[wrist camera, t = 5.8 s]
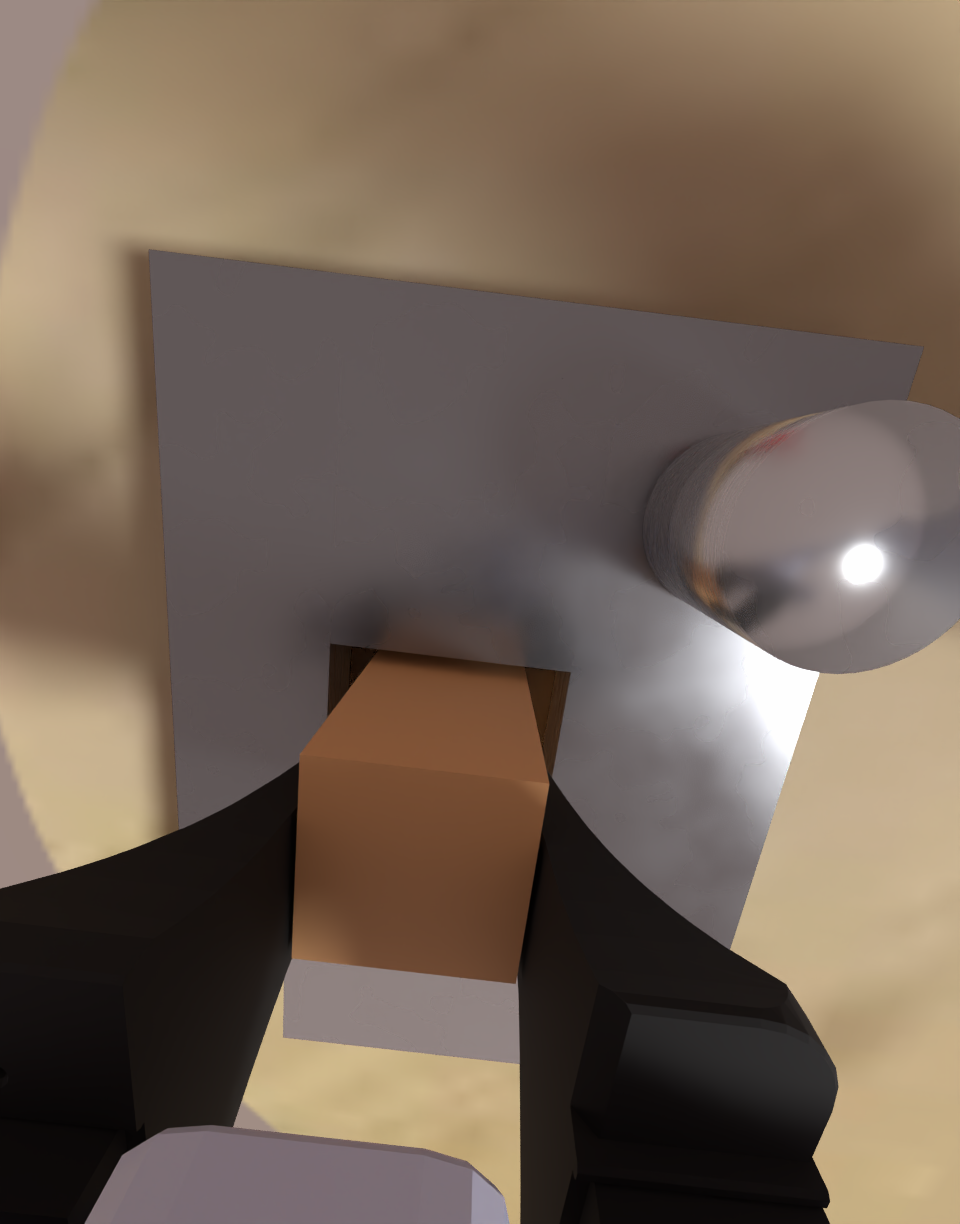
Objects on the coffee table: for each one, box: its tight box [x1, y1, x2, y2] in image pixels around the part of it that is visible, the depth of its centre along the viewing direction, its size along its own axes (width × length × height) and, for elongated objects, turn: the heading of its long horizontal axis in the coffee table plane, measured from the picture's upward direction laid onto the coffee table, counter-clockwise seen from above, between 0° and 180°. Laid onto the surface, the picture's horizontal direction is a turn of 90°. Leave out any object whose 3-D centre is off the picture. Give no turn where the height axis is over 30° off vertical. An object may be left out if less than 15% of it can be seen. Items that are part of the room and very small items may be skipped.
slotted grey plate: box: [149, 250, 960, 1064], centre depth 11 cm, size 16×18×6 cm
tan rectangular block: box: [292, 649, 549, 984], centre depth 11 cm, size 4×4×6 cm
